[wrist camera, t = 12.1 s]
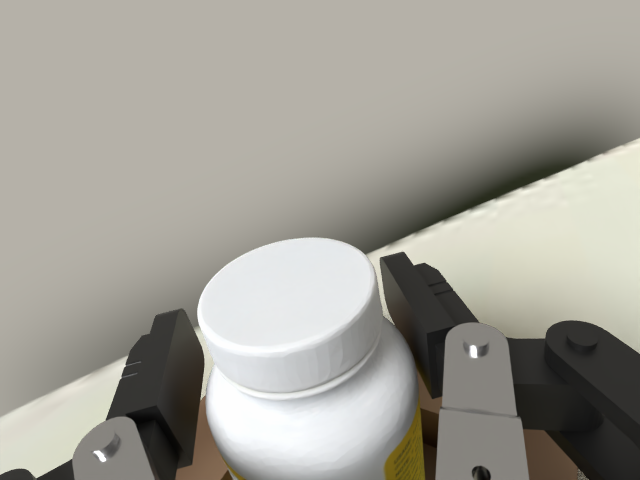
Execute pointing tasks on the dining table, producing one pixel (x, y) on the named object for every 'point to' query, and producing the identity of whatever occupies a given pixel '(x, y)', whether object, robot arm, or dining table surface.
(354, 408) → the supplement bottle
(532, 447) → the walnut pocket block
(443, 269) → the dining table surface
